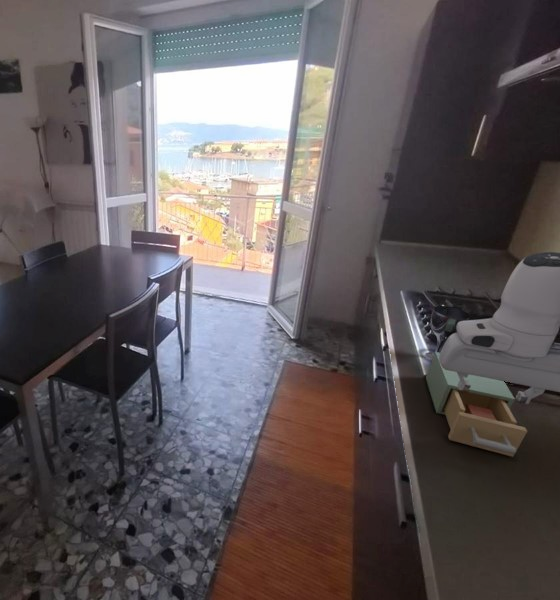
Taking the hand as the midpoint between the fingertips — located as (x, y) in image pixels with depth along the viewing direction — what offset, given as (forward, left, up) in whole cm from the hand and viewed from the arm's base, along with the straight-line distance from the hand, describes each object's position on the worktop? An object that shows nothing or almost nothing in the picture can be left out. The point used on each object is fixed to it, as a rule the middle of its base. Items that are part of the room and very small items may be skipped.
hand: (491, 395), depth 73 cm
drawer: (+1, 0, -10) cm, 10 cm away
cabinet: (-8, -8, -11) cm, 15 cm away
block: (0, 0, -9) cm, 9 cm away
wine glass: (-21, -23, -11) cm, 33 cm away
